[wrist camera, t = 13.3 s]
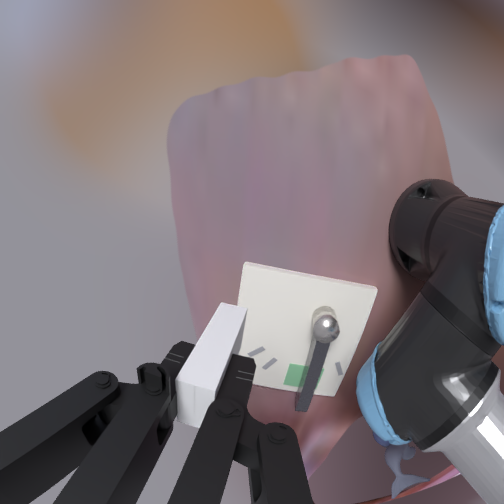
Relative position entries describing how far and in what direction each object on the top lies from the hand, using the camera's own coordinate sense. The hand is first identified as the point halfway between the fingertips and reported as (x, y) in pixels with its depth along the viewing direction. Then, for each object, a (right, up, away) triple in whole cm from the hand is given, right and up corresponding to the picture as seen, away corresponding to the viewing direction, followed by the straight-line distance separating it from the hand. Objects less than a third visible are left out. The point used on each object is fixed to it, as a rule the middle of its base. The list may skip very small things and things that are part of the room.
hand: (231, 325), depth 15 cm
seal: (+32, -32, +30) cm, 54 cm away
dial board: (+8, -9, +27) cm, 30 cm away
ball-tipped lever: (+11, -13, +25) cm, 30 cm away
